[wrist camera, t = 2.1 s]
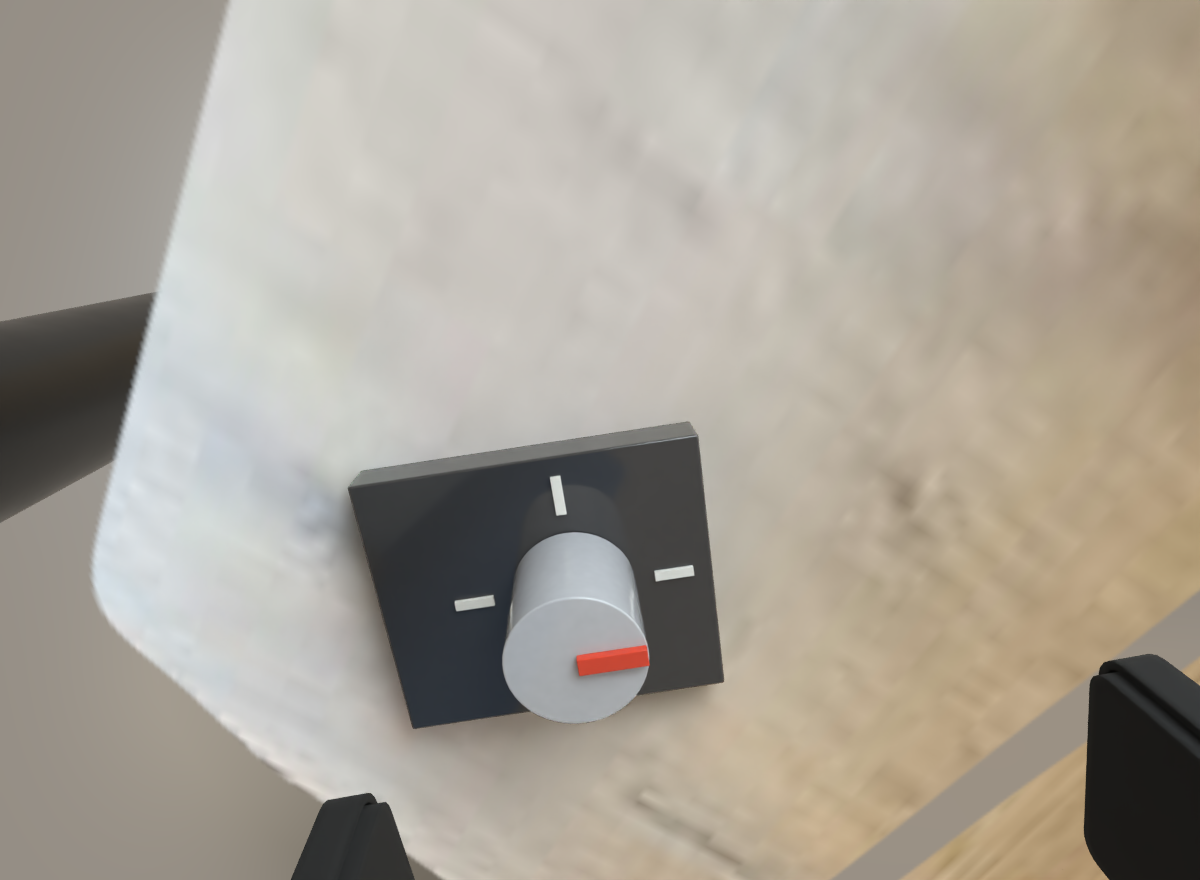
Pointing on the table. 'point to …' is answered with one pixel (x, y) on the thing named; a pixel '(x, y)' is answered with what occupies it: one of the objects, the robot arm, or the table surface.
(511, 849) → the table surface
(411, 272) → the table surface
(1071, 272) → the table surface
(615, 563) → the hob knob
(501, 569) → the base plate
